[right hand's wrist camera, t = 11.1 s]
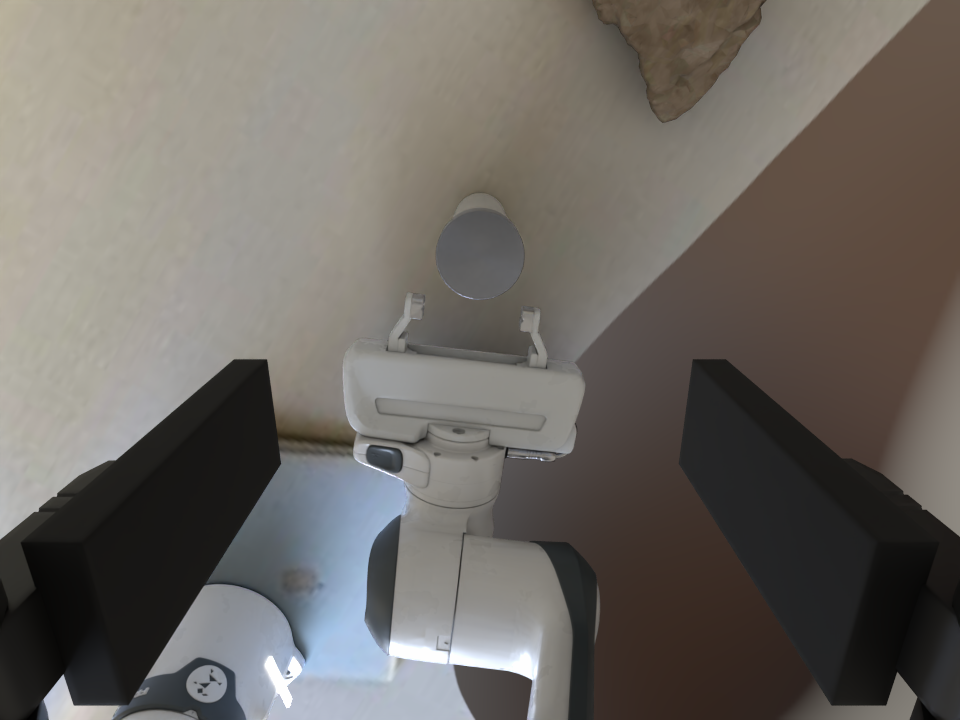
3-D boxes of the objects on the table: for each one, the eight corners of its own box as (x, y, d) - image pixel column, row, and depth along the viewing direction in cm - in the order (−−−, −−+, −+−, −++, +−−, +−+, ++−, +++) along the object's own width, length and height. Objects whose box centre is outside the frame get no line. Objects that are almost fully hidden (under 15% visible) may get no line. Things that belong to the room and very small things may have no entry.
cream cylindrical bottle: (467, 254, 52) (461, 305, 35) (445, 206, 50) (427, 235, 33) (514, 232, 51) (531, 274, 34) (493, 183, 50) (500, 201, 33)
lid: (459, 304, 37) (458, 313, 35) (423, 229, 35) (420, 234, 33) (534, 271, 36) (538, 278, 34) (501, 193, 34) (502, 195, 32)
